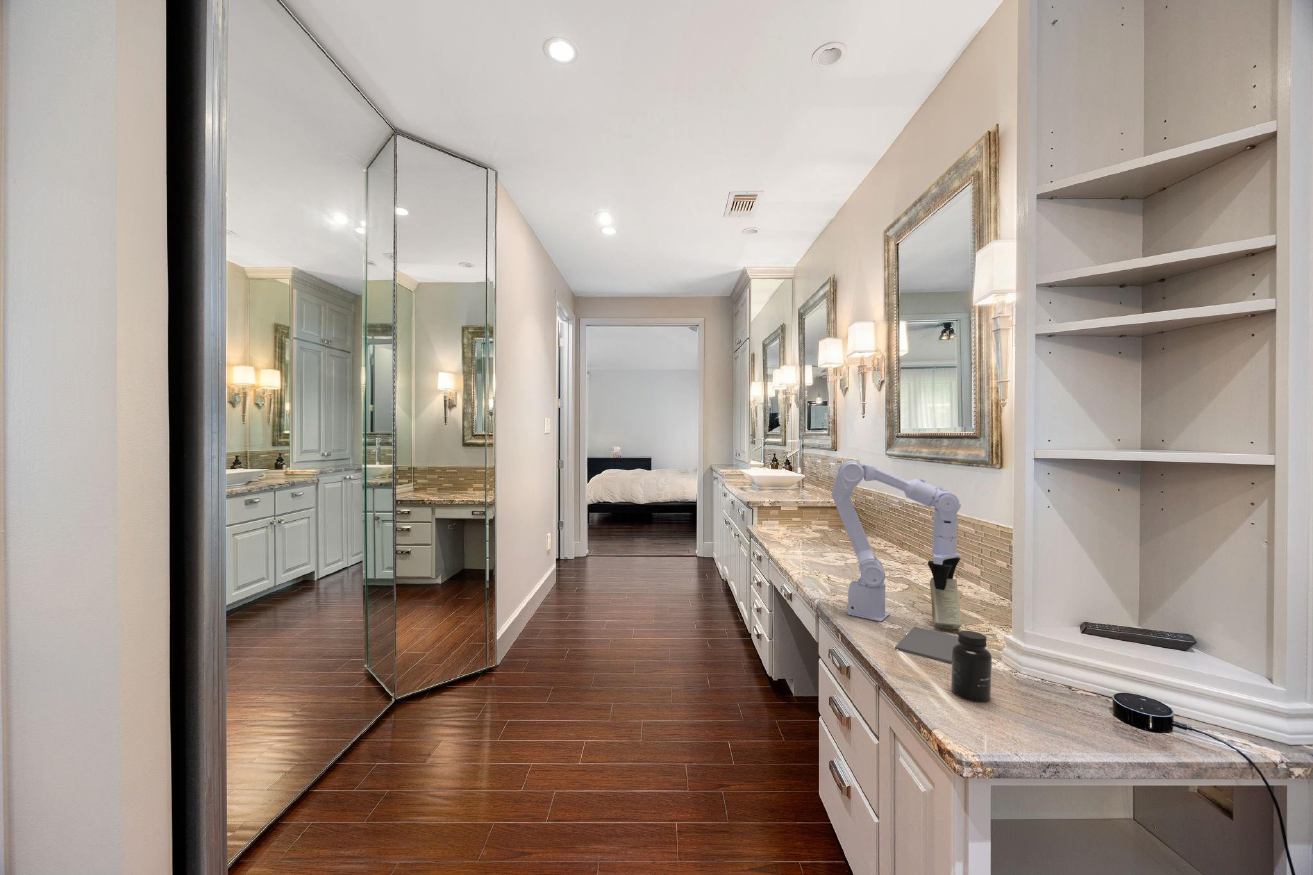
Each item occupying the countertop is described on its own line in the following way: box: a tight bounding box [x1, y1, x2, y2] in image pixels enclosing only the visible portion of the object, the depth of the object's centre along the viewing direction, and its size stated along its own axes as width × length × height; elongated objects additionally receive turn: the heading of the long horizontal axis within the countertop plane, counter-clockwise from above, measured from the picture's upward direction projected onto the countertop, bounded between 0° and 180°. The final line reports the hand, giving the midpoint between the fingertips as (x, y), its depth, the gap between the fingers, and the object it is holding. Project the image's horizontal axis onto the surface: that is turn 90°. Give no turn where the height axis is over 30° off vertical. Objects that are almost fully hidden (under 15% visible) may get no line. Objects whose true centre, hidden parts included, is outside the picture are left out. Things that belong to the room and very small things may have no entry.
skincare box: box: [929, 577, 963, 630], centre depth 144 cm, size 6×4×12 cm
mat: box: [894, 626, 959, 665], centre depth 131 cm, size 14×17×1 cm
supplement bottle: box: [950, 630, 993, 703], centre depth 108 cm, size 7×7×12 cm
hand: (943, 585), depth 146 cm, fingers open, 7 cm apart
